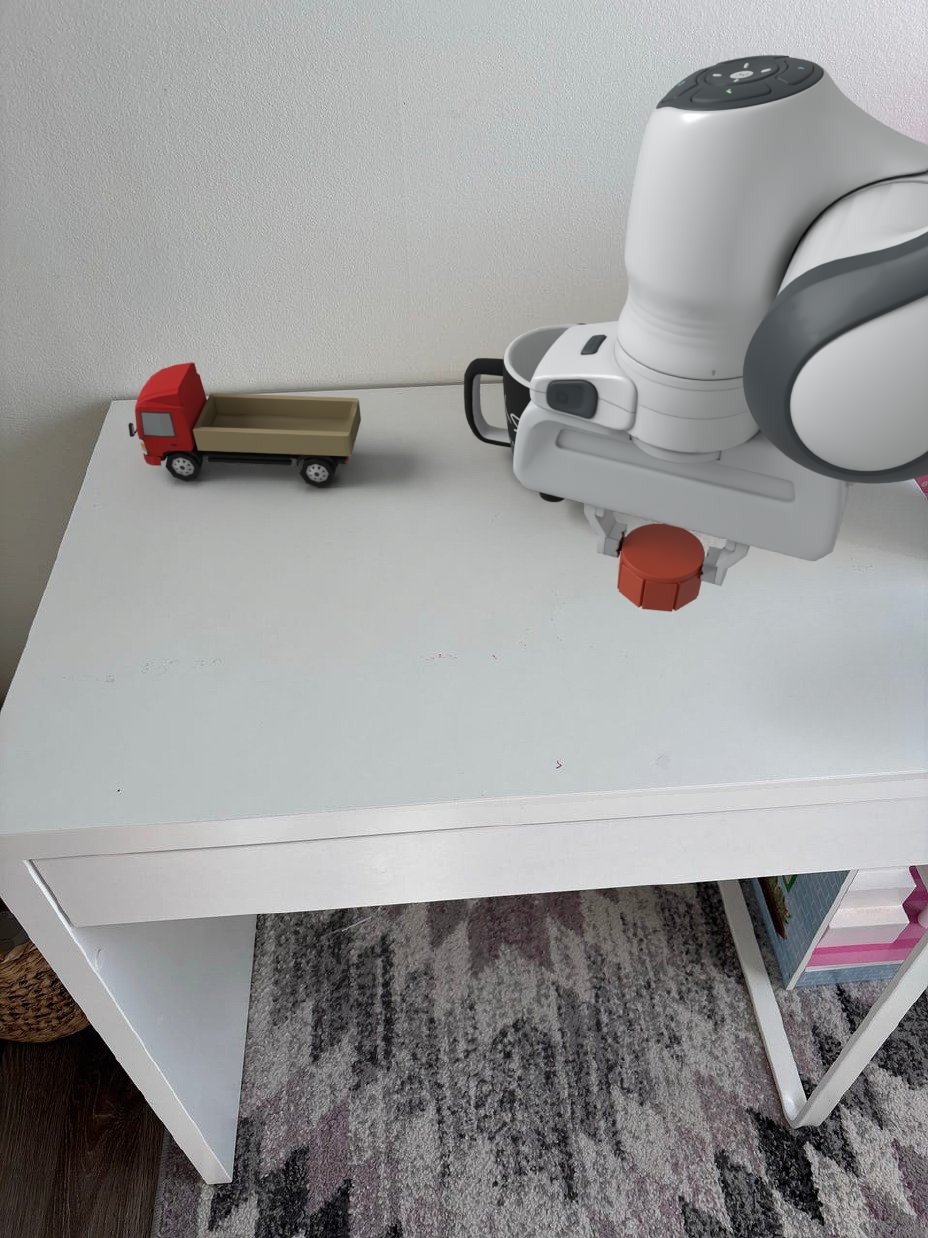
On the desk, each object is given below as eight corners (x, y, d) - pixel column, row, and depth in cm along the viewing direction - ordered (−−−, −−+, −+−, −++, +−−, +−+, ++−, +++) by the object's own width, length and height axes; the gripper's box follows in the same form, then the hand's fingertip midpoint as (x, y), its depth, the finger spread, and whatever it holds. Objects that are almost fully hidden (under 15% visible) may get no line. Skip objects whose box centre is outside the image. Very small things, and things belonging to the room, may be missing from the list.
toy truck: (163, 442, 97) (138, 354, 90) (364, 450, 96) (355, 361, 89) (142, 484, 93) (114, 395, 85) (354, 493, 91) (343, 403, 84)
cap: (715, 587, 65) (722, 554, 63) (656, 622, 63) (662, 590, 61) (658, 545, 68) (664, 512, 66) (601, 577, 66) (604, 544, 64)
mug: (453, 442, 97) (451, 334, 88) (592, 402, 101) (602, 296, 93) (529, 540, 86) (535, 428, 78) (679, 490, 91) (701, 380, 82)
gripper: (890, 392, 53) (828, 574, 63) (543, 323, 59) (536, 499, 69) (874, 456, 49) (810, 639, 59) (504, 374, 55) (502, 553, 65)
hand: (660, 563), depth 64 cm, fingers closed on cap, 5 cm apart
